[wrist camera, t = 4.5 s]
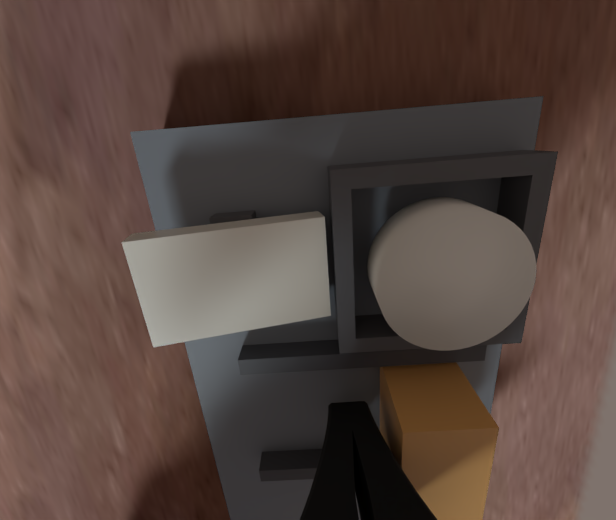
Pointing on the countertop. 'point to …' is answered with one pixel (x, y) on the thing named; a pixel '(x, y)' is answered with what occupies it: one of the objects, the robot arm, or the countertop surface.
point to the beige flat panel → (230, 276)
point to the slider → (439, 436)
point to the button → (450, 273)
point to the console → (333, 264)
